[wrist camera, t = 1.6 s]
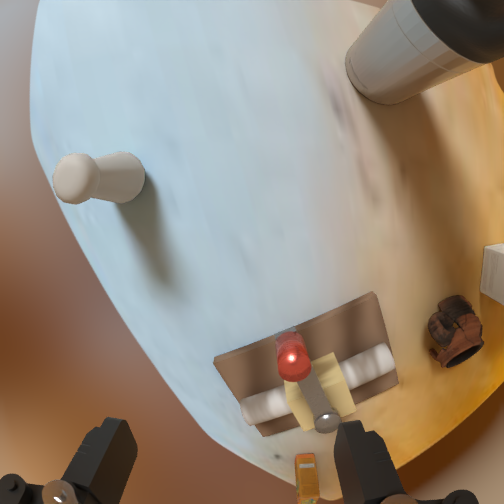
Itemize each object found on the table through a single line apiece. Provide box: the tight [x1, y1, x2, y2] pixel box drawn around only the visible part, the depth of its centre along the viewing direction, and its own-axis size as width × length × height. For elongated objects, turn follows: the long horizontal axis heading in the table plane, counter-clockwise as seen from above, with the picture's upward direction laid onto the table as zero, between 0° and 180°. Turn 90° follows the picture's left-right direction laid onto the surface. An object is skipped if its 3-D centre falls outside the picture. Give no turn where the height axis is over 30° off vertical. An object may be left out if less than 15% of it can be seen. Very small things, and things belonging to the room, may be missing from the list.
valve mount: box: [213, 292, 399, 437], centre depth 34 cm, size 22×16×9 cm
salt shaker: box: [53, 152, 145, 204], centre depth 26 cm, size 6×6×13 cm
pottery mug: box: [428, 295, 484, 368], centre depth 34 cm, size 12×10×8 cm
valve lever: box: [274, 326, 342, 433], centre depth 26 cm, size 15×3×5 cm, turn 25°
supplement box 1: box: [295, 454, 320, 504], centre depth 38 cm, size 3×4×10 cm
